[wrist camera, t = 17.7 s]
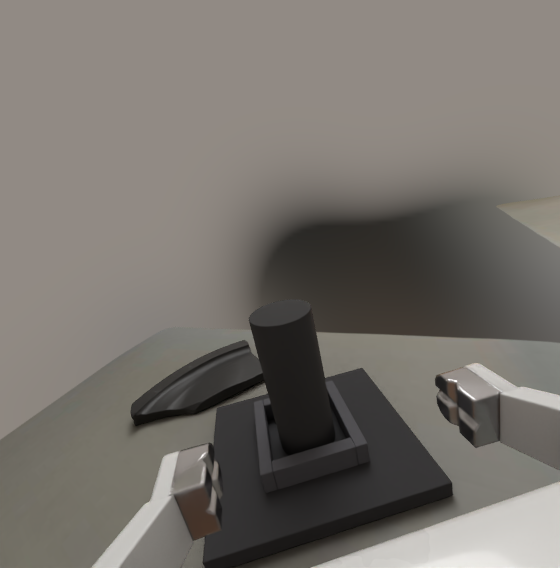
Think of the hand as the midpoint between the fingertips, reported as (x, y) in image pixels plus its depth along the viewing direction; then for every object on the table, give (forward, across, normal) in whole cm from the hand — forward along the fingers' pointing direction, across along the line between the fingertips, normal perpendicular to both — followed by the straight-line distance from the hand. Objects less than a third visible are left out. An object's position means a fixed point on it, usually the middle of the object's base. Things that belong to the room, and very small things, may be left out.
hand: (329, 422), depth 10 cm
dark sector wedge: (+21, +9, +10) cm, 25 cm away
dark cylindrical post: (+9, 0, +9) cm, 13 cm away
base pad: (+9, 0, +10) cm, 14 cm away
